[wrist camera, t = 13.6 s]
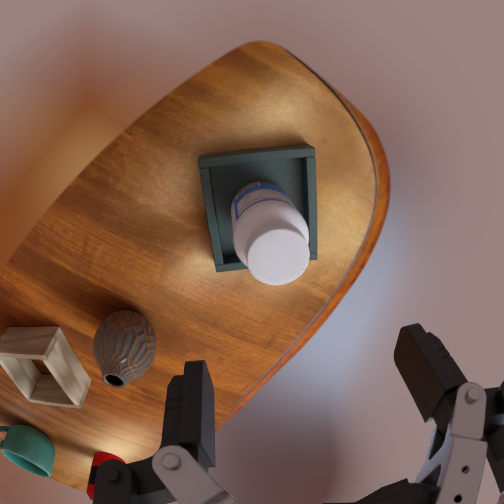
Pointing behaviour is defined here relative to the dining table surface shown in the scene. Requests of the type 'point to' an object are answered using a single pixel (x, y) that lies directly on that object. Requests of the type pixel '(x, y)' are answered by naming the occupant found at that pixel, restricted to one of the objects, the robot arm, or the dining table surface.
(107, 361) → the vase
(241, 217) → the pill bottle
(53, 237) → the dining table surface
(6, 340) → the crate
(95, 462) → the soda can
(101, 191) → the dining table surface
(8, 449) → the mug
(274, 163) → the tray
